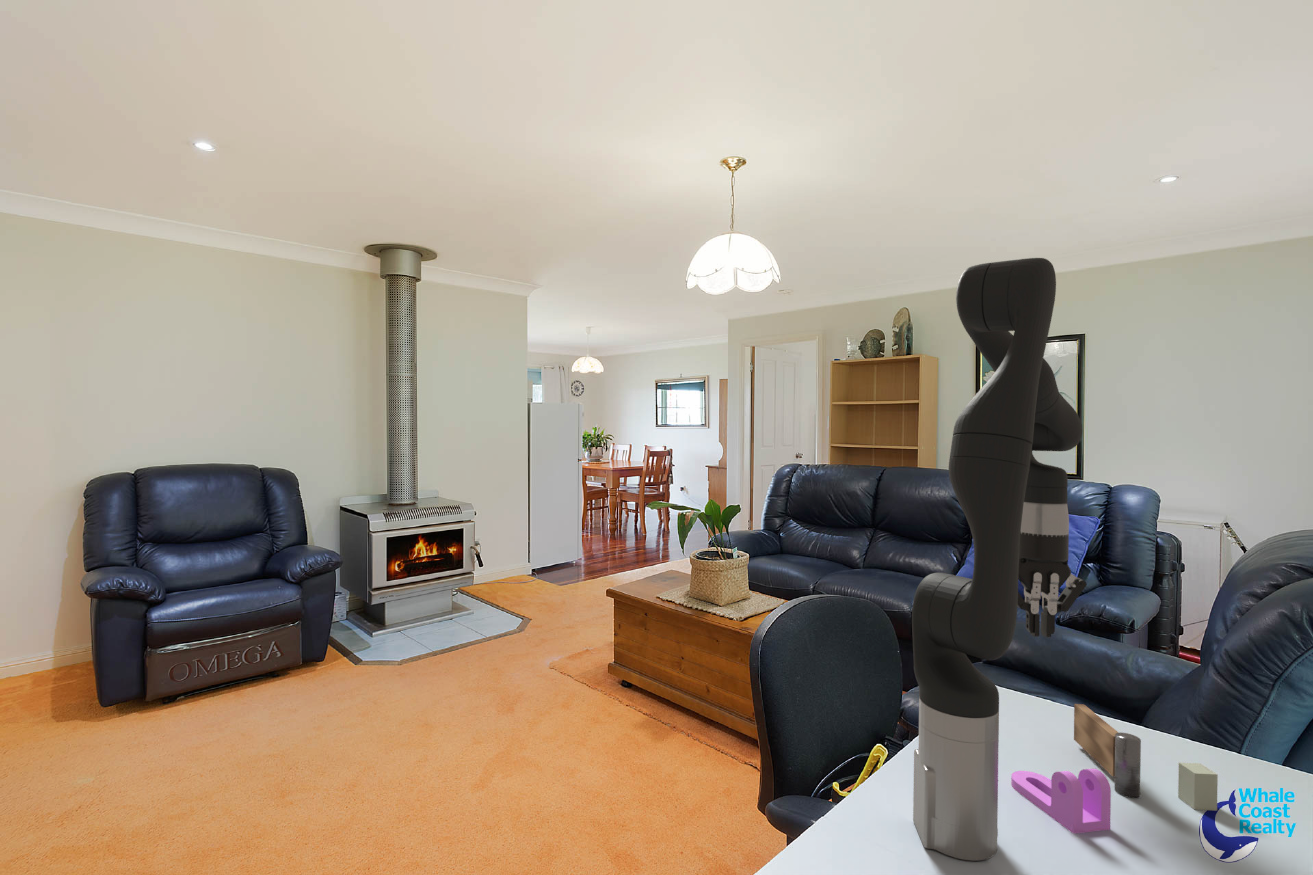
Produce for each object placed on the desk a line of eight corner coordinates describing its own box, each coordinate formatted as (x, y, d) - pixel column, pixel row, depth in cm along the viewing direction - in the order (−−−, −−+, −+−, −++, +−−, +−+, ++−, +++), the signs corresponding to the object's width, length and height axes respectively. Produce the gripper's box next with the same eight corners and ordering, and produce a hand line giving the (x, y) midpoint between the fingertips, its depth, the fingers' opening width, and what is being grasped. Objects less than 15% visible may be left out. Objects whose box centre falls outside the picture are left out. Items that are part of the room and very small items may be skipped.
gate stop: (1194, 809, 89) (1194, 773, 89) (1178, 797, 92) (1178, 762, 92) (1217, 810, 89) (1217, 774, 89) (1200, 798, 92) (1200, 763, 92)
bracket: (1110, 830, 84) (1110, 777, 84) (1073, 834, 83) (1073, 780, 83) (1035, 778, 97) (1036, 732, 97) (1002, 781, 96) (1003, 734, 96)
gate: (1124, 777, 96) (1124, 737, 96) (1112, 776, 96) (1113, 736, 96) (1083, 740, 107) (1084, 704, 107) (1073, 739, 108) (1074, 703, 108)
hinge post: (1121, 796, 92) (1122, 740, 92) (1110, 785, 95) (1110, 731, 95) (1144, 798, 92) (1145, 742, 92) (1132, 787, 95) (1133, 733, 95)
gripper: (1005, 531, 103) (1004, 640, 103) (1098, 534, 101) (1097, 645, 101) (989, 525, 110) (987, 626, 110) (1075, 528, 108) (1074, 631, 108)
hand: (1040, 635), depth 105 cm, fingers closed
